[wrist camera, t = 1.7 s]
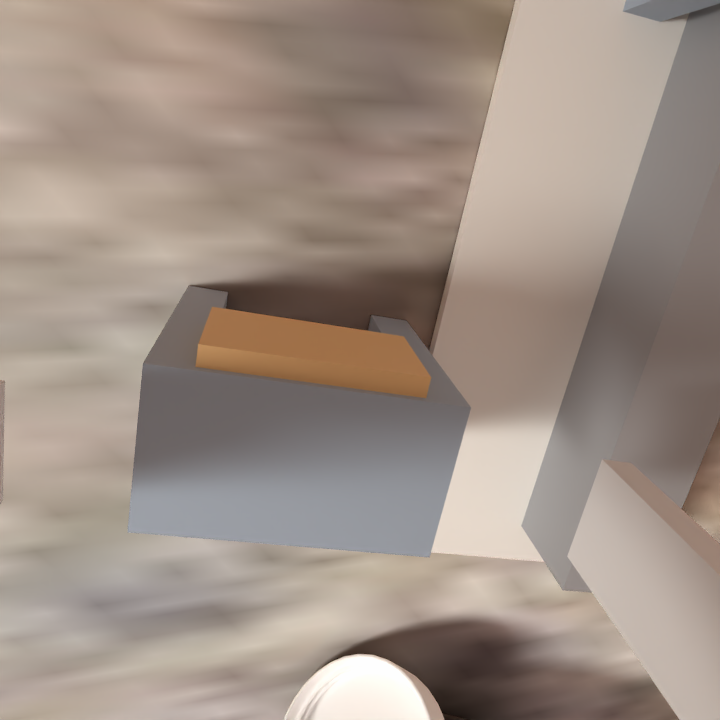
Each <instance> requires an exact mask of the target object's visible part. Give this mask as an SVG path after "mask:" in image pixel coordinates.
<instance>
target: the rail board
mask: <svg viewBox="0 0 720 720" xmlns="http://www.w3.org/2000/svg"><path fill="white" fill-rule="evenodd" d="M625 2H626V0H515V4H514V8H513V12H512V16H511V20H510V24H509V29H508V33H507V37H506V41H505V45H504V49H503V53H502V57H501V61H500V65H499V69H498V73H497V77H496V81H495V85H494V89H493V93H492V98H491V102H490V106H489V110H488V114H487V118H486V122H485V126H484V130H483V134H482V138H481V142H480V146H479V150H478V154H477V158H476V162H475V167H474V171H473V175H472V179H471V183H470V187H469V191H468V195H467V199H466V203H465V207H464V211H463V215H462V219H461V223H460V227H459V231H458V236H457V240H456V244H455V248H454V252H453V256H452V260H451V264H450V268H449V272H448V276H447V280H446V284H445V288H444V292H443V296H442V301H441V305H440V309H439V313H438V317H437V321H436V325H435V329H434V333H433V337H432V341H431V345H430V349H429V352H430V353H431V354H432V356H433V357H434V358H435V360H436V361H437V362H438V364H439V365H440V366H441V368H442V369H443V370H444V372H445V373H446V374H447V376H448V377H449V378H450V380H451V381H452V383H453V384H454V385H455V387H456V388H457V389H458V391H459V392H460V393H461V395H462V396H463V397H464V399H465V400H466V401H467V403H468V404H469V405H470V407H471V410H470V413H469V417H468V421H467V424H466V428H465V431H464V435H463V439H462V442H461V446H460V449H459V453H458V457H457V460H456V464H455V467H454V471H453V475H452V478H451V482H450V485H449V489H448V493H447V496H446V500H445V503H444V507H443V511H442V514H441V518H440V521H439V525H438V529H437V532H436V536H435V539H434V543H433V547H432V550H431V552H434V553H446V554H458V555H469V556H481V557H493V558H505V559H517V560H528V561H540V562H545V564H546V565H547V567H548V568H549V570H550V571H551V573H552V574H553V576H554V577H555V579H556V581H557V582H558V584H559V585H560V587H561V588H562V590H566V591H580V592H591V590H590V589H589V587H588V586H587V584H586V583H585V582H584V580H583V579H582V577H581V576H580V574H579V573H578V571H577V570H576V568H575V567H574V566H573V564H572V563H571V561H570V560H569V558H568V557H567V556H568V553H569V550H570V547H571V544H572V542H573V539H574V536H575V533H576V530H577V528H578V525H579V522H580V519H581V517H582V514H583V511H584V508H585V505H586V503H587V500H588V497H589V494H590V492H591V489H592V486H593V483H594V480H595V478H596V475H597V472H598V469H599V467H600V464H601V461H602V459H605V460H612V461H620V462H627V463H632V464H633V465H634V466H635V467H636V468H637V469H638V470H639V471H640V472H642V473H643V474H644V475H645V476H646V477H647V478H648V479H649V480H650V481H651V482H652V483H654V484H655V485H656V486H657V487H658V488H659V489H660V490H661V491H662V492H663V493H664V494H666V495H667V496H668V497H669V498H670V499H671V500H672V501H673V502H674V503H675V504H677V505H678V506H679V507H680V508H681V509H682V507H683V504H684V502H685V500H686V497H687V495H688V493H689V490H690V488H691V485H692V483H693V481H694V478H695V476H696V474H697V471H698V469H699V466H700V464H701V462H702V459H703V457H704V454H705V452H706V450H707V447H708V445H709V443H710V440H711V438H712V435H713V433H714V431H715V428H716V426H717V423H718V421H719V419H720V3H719V4H716V5H713V6H710V7H706V8H703V9H700V10H697V11H694V12H690V13H687V14H684V15H681V16H677V17H674V18H671V19H668V20H664V21H661V22H659V21H655V20H652V19H648V18H644V17H641V16H637V15H634V14H630V13H627V12H623V9H624V6H625Z"/></svg>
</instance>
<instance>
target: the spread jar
mask: <svg viewBox="0 0 720 720" xmlns="http://www.w3.org/2000/svg"><path fill="white" fill-rule="evenodd" d="M284 720H467V719H464V718H461V717H457V716H453V715H448V714H442V712H441V710H440V707H439V705H438V703H437V702H436V700H435V698H434V697H433V695H432V694H431V692H430V691H429V689H428V688H427V687H426V686H425V685H424V684H423V683H422V682H421V681H420V680H419V679H418V678H417V677H416V676H415V675H413V674H411V673H410V672H408V671H407V670H405V669H404V668H402V667H400V666H398V665H396V664H395V663H393V662H391V661H389V660H387V659H384V658H381V657H378V656H375V655H369V654H354V655H349V656H344V657H342V658H339V659H337V660H334V661H332V662H330V663H329V664H327V665H326V666H324V667H323V668H321V669H320V670H318V671H317V672H316V673H315V674H314V675H313V676H312V677H311V678H310V679H309V680H308V681H307V682H306V683H305V684H304V685H303V687H302V688H301V690H300V691H299V692H298V694H297V695H296V696H295V698H294V700H293V702H292V703H291V705H290V707H289V709H288V711H287V713H286V715H285V717H284Z"/></svg>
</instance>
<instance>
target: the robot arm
mask: <svg viewBox="0 0 720 720" xmlns="http://www.w3.org/2000/svg"><path fill="white" fill-rule="evenodd" d="M4 393H5V381H2V380H0V503H1V502H2V501H3V452H4ZM567 557H568V558H569V560H570V561H571V563H572V564H573V566H574V567H575V568H576V570H577V571H578V573H579V574H580V576H581V577H582V579H583V580H584V582H585V583H586V584H587V586H588V587H589V589H590V590H591V592H592V593H593V595H594V596H595V598H596V599H597V600H598V602H599V603H600V605H601V606H602V608H603V609H604V611H605V612H606V614H607V615H608V616H609V618H610V619H611V621H612V622H613V624H614V625H615V627H616V628H617V630H618V631H619V632H620V634H621V635H622V637H623V638H624V640H625V641H626V643H627V644H628V646H629V647H630V648H631V650H632V651H633V653H634V654H635V656H636V657H637V659H638V660H639V662H640V663H641V664H642V666H643V667H644V669H645V670H646V672H647V673H648V675H649V676H650V678H651V679H652V680H653V682H654V683H655V685H656V686H657V688H658V689H659V691H660V692H661V694H662V695H663V696H664V698H665V699H666V701H667V702H668V704H669V705H670V707H671V708H672V710H673V711H674V712H675V714H676V715H677V717H678V718H679V720H720V544H719V543H718V542H717V541H716V540H715V539H714V538H713V537H711V536H710V535H709V534H708V533H707V532H706V531H705V530H704V529H703V528H702V527H701V526H699V525H698V524H697V523H696V522H695V521H694V520H693V519H692V518H691V517H690V516H689V515H687V514H686V513H685V512H684V511H683V510H682V509H681V508H680V507H679V506H678V505H677V504H675V503H674V502H673V501H672V500H671V499H670V498H669V497H668V496H667V495H666V494H664V493H663V492H662V491H661V490H660V489H659V488H658V487H657V486H656V485H655V484H654V483H652V482H651V481H650V480H649V479H648V478H647V477H646V476H645V475H644V474H643V473H642V472H640V471H639V470H638V469H637V468H636V467H635V466H634V465H633V464H632V463H627V462H620V461H612V460H605V459H602V461H601V464H600V467H599V469H598V472H597V475H596V478H595V480H594V483H593V486H592V489H591V492H590V494H589V497H588V500H587V503H586V505H585V508H584V511H583V514H582V517H581V519H580V522H579V525H578V528H577V530H576V533H575V536H574V539H573V542H572V544H571V547H570V550H569V553H568V556H567Z"/></svg>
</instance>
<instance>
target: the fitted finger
mask: <svg viewBox="0 0 720 720" xmlns="http://www.w3.org/2000/svg"><path fill="white" fill-rule="evenodd" d="M719 3H720V0H626V2H625V6H624V9H623V12H627V13H630V14H634V15H637V16H641V17H644V18H648V19H652V20H655V21H659V22H661V21H664V20H668V19H671V18H674V17H677V16H681V15H684V14H687V13H690V12H694V11H697V10H700V9H703V8H706V7H710V6H713V5H716V4H719Z"/></svg>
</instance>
